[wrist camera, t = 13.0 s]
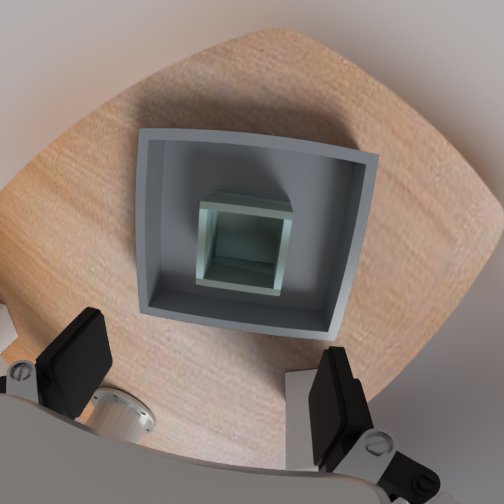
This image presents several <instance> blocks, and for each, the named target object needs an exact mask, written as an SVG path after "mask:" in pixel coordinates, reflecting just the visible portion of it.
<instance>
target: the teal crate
mask: <svg viewBox="0 0 504 504" xmlns="http://www.w3.org/2000/svg"><path fill="white" fill-rule="evenodd" d="M293 213H294V212H293V209H292V206H291V202H290V199H286V198H279V197H271V196H264V195H256V194H248V193H239V192H231V191H222V190H215V191H213V192H212V193H211V194H209V195H208V196H206V197H205V198H204V199H202V200H201V201H200V211H199V226H198V244H197V265H196V285H203V286H209V287H216V288H223V289H230V290H237V291H244V292H251V293H258V294H266V295H274V296H280V291H281V286H282V280H283V274H284V269H285V263H286V257H287V251H288V245H289V239H290V232H291V226H292V220H293Z"/></svg>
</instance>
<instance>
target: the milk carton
mask: <svg viewBox="0 0 504 504" xmlns="http://www.w3.org/2000/svg"><path fill="white" fill-rule="evenodd" d="M317 370H318V369H313V370H304V371H294V372H286V373H285V395H286V470H294V471H314V472H319V471H318V466H314V462H313V449H312V437H311V426H310V415H309V405H308V396H309V392H310V390H311V387H312V384H313V381H314V378H315V375H316V373H317Z"/></svg>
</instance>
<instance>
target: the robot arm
mask: <svg viewBox="0 0 504 504" xmlns="http://www.w3.org/2000/svg"><path fill="white" fill-rule="evenodd" d="M36 362H37V363H36V364H35V365H34V364H33V363H32V362H30V361H27V360H20V361H16V362H14V363H13V364H12V365H11V366H10V367H9V369H8V370H7V376H2V377H0V504H460V503H459V502H458V501H457V500H456V499H455V498H454V497H453V496H451V495H450V493H448V492H447V491H446V490H445V491H442V490H441V489H440V479H439V477H438V475H437V474H436V473H435V472H433V471H432V470H430V469H428V468H426V467H425V466H423V465H421V464H419V463H417V462H415V461H413V460H412V459H410V458H408V457H407V456H405V455H403V454H401V453H400V452H398V451H396V450H397V441H396V438H395V437H394V436H393V435H392V434H391V433H390V432H388V431H387V430H384V429H380V428H374V426H373V423H372V419H371V416H370V412H369V409H368V405H367V402H366V398H365V395H364V392H363V388H362V385H361V382H360V380H359V379H354V378H353V375H352V372H351V368H350V365H349V362H348V358H347V355H346V352H345V349H344V347H334V346H330V347H329V349H328V350H326V349H325V350H324V352H323V355H322V358H321V361H320V364H319V367H318V370H317V373H316V375H315V378H314V381H313V384H312V387H311V390H310V392H309V396H308V405H309V415H310V426H311V437H312V449H313V462H314V466H318V471H319V472H314V471H294V470H276V469H264V468H254V467H244V466H236V465H229V464H222V463H216V462H210V461H204V460H199V459H194V458H189V457H185V456H180V455H176V454H172V453H168V452H164V451H160V450H156V449H152V448H149V447H145V446H142V445H139V444H138V443H139V440H140V438H141V436H142V435H145V434H149V433H151V432H152V431H153V430H154V427H155V423H156V422H155V419H154V417H153V415H152V413H151V412H150V411H149V410H148V409H147V408H146V407H145V406H144V405H143V404H142V403H141V402H139V401H138V400H137V399H135V398H134V397H132V396H130V395H128V394H126V393H124V392H122V391H119V390H116V389H113V388H106V387H103V388H98V386H99V385H100V383H101V382H102V380H103V379H104V377H105V375H106V374H107V372H108V371H109V369H110V368H111V366H112V355H111V351H110V346H109V341H108V336H107V331H106V326H105V320H104V315H103V314H102V313H101V311H100V310H99V309H95V308H92V307H87V308H85V309H84V310H83V311H82V312H81V313H80V314H79V315H78V316H77V317H76V318H75V319H74V320H73V321H72V322H71V323H70V324H69V325H68V326H67V327H66V328H65V329H64V330H63V331H62V332H61V333H60V334H59V335H58V336H57V337H56V338H55V339H54V341H53V342H52V343H51V344H50V345H49V346H48V347H47V348H46V349H45V350H44V351H43V352H42V353H41V354H40V355H39V356H38V358H37V359H36ZM97 388H98V389H97ZM91 397H92V403H93V406H94V407H95V408H94V410H93V412H92V413H91V415H90V417H89V418H88V420H87V422H86V423H85V425H84V424H81V423H79V422H77V421H74V420H75V418H76V417H79V416H80V415H81V413H82V412H83V410H84V408H85V407H86V405H87V404H88V402H89V400H90V399H91Z"/></svg>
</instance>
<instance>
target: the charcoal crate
mask: <svg viewBox="0 0 504 504" xmlns="http://www.w3.org/2000/svg"><path fill="white" fill-rule="evenodd" d="M378 159H379V155H377V154H373V153H368V152H364V151H360V150H355V149H350V148H345V147H340V146H335V145H330V144H324V143H319V142H313V141H307V140H300V139H294V138H287V137H280V136H272V135H263V134H254V133H244V132H233V131H220V130H204V129H179V128H139V137H138V150H137V167H136V195H135V237H136V265H137V283H138V296H139V308H140V313H142V314H147V315H152V316H157V317H162V318H167V319H172V320H177V321H183V322H188V323H194V324H199V325H205V326H212V327H218V328H224V329H231V330H238V331H245V332H252V333H260V334H268V335H277V336H286V337H295V338H305V339H316V340H329V341H335V339H336V336H337V333H338V330H339V327H340V324H341V321H342V318H343V314H344V311H345V308H346V304H347V301H348V297H349V294H350V290H351V287H352V283H353V279H354V276H355V272H356V268H357V264H358V260H359V256H360V252H361V248H362V243H363V239H364V235H365V230H366V226H367V221H368V216H369V211H370V206H371V201H372V195H373V190H374V184H375V178H376V172H377V166H378ZM215 190H222V191H231V192H239V193H248V194H256V195H264V196H271V197H279V198H286V199H290V202H291V206H292V209H293V212H294V213H293V220H292V226H291V232H290V239H289V245H288V251H287V257H286V263H285V269H284V274H283V280H282V286H281V291H280V296H274V295H266V294H258V293H251V292H244V291H237V290H230V289H223V288H216V287H209V286H203V285H196V265H197V244H198V226H199V211H200V201H201V200H202V199H204V198H205V197H206V196H208V195H209V194H211V193H212V192H213V191H215Z"/></svg>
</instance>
